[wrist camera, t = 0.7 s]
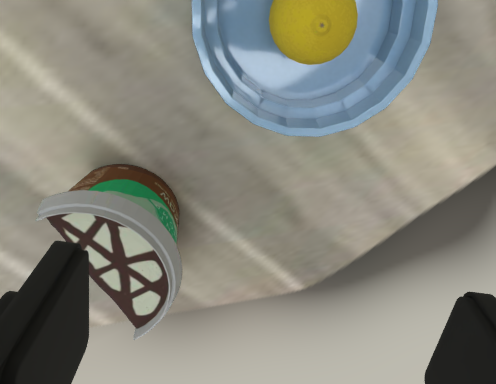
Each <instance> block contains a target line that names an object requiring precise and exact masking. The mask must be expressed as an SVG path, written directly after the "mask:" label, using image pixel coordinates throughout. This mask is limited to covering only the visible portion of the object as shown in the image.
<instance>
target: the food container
mask: <svg viewBox="0 0 496 384" xmlns="http://www.w3.org/2000/svg"><path fill="white" fill-rule="evenodd" d="M37 213H38V214H39V216H38V217H37V219H36V221H38V220H41V219H43V218H47V219H48V220H49V222H50V223H51V225H52V226H53V227H55V228H56V230H57V231H58V232H59V233H60V234H61V235H62V237H63V238H64V239H65V240H66V242H72V243H79V244H81V247H82V250H87V251H88V253H89V275H90V276H91V278H92V279H93V280H94V281H95V282H96V283H97V284H98V285H99V287H100V288H101V289H102V290H104V291H105V292H106V293H107V294H108V295H109V296H110V297H111V298H112V299H113V300H114V301H115V303H116V304H117V305H118V306H119V308H120V309H121V310H122V311H123V312H124V314H125V315H126V316H127V317H128V319H129V320H130V321H131V322H132V323H133V325H134V326H135V327H136V329H135V334H134V340H135V339H137V338H139V337H141V336H142V335H144V334H145V333H147V332H148V331H150V330H151V329H152V328H153V327H154V326H155V325H156V324H157V323H158V322H159V321H160V320H161V319H162V318H163V317H164V316H165V314H166V313H167V311H168V310H169V308H170V306H171V305H172V303H173V301H174V299H175V298H176V295H177V293H178V291H179V288H180V284H181V280H182V263H181V257H180V253H179V251H178V248H177V245H176V244H177V234H178V225H179V207H178V204H177V200H176V197H175V195H174V194H173V192H172V190H171V189H170V188H169V186H168V185H167V184H166V183H165V182H164V181H163V180H162V179H161V178H159V177H158V176H157V175H155V174H154V173H152V172H150V171H148V170H146V169H143V168H140V167H137V166H133V165H127V164H114V165H107V166H103V167H100V168H98V169H95V170H93V171H91V172H90V173H89V174H88V175H87V176H85V177H84V178H83V179H82V180H81V181H79V182H78V183H77V184H76V185H75V186H74V187H72V188H71V189H70V190H69V191H67V192H63V193H59V194H55V195H52V196H50V197H47V198H45V199H43V200H42V202H41V205H40V207H39V209H38V211H37Z"/></svg>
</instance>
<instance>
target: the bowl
mask: <svg viewBox="0 0 496 384" xmlns="http://www.w3.org/2000/svg"><path fill="white" fill-rule="evenodd" d="M272 2H273V0H192V35H193V40H194V43H195V46H196V49H197V52H198V55H199V58H200V61H201V64H202V67H203V70H204V73H205V75H206V76H207V78H208V79H209V80H210V82H211V83H212V85H213V86H214V87H215V89H216V90H217V92H218V93H219V94H220V96H221V97H222V99H223V100H224V101H225V103H226V104H227V105H229V106H230V107H231V108H233V109H234V110H235V111H237V112H238V113H239V114H241V115H242V116H243V117H245V118H246V119H247V120H249V121H250V122H251V123H253V124H255V125H257V126H260V127H263V128H266V129H269V130H272V131H274V132H277V133H280V134H283V135H287V136H316V137H320V136H325V135H328V134H332V133H336V132H339V131H343V130H347V129H350V128H354V127H356V126H357V125H359V124H361V123H362V122H364V121H366V120H367V119H369V118H371V117H372V116H374V115H375V114H377V113H379V112H380V111H382V110H384V109H385V107H387V106H388V105H389V104H390V103H391V102H392V101H393V100H394V99H395V97H396V96H397V95H398V94H399V93H400V92H401V91H402V90H403V89H404V88H405V87H406V86H407V84H408V83H409V82H410V81H411V79H413V77H414V75H415V73H416V71H417V69H418V67H419V65H420V63H421V61H422V59H423V57H424V55H425V53H426V51H427V49H428V47H429V45H430V42H431V37H432V32H433V27H434V22H435V17H436V12H437V7H438V4H437V3H438V0H355V2H356V6H357V13H358V19H357V28H356V31H355V34H354V37H353V39H352V40H351V42H350V44H349V45H348V47H347V48H346V49H345V50H344V51H343V52H342V53H341V54H340V55H339V56H337V57H336V58H334V59H332V60H331V61H328V62H325V63H322V64H316V65H307V64H301V63H298V62H296V61H293V60H291V59H289V58H288V57H287V56H286V55H284V54H283V53H282V52H281V51H280V50H279V48H278V47H277V45H276V44H275V42H274V40H273V38H272V35H271V32H270V25H269V15H270V8H271V5H272Z"/></svg>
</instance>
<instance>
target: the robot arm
mask: <svg viewBox="0 0 496 384" xmlns="http://www.w3.org/2000/svg"><path fill="white" fill-rule="evenodd" d="M88 338H89V253H88V251H87V250H82V247H81V244H79V243H72V242H63V241H55V242H54V243H53V244H52V245H51V247H50V248H49V250H48V251H47V252H46V254H45V255H44V257H43V258H42V259H41V261H40V262H39V263H38V265H37V266H36V268H35V269H34V270H33V272H32V273H31V275H30V276H29V277H28V279H27V280H26V281H25V283H24V284H23V286H22V287H21V288H20V290H19V291H18V292H14V291H9V292H7V293H5V294H4V295H3V296H2V297H1V299H0V384H71V383H72V380H73V378H74V376H75V373H76V371H77V369H78V366H79V364H80V362H81V359H82V357H83V355H84V353H85V350H86V347H87V343H88ZM425 384H496V298H495V297H494V296H493V295H490V294H484V293H475V292H467V293H466V294H464V296H463V297H459V298H458V299H457V301H456V303H455V305H454V308H453V310H452V312H451V315H450V317H449V319H448V321H447V323H446V326H445V328H444V330H443V333H442V335H441V337H440V339H439V342H438V344H437V347H436V349H435V351H434V353H433V356H432V358H431V360H430V363H429V365H428V367H427V370H426V372H425Z"/></svg>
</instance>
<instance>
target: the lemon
mask: <svg viewBox="0 0 496 384" xmlns="http://www.w3.org/2000/svg"><path fill="white" fill-rule="evenodd" d="M357 19H358V13H357V6H356V2H355V0H273V2H272V5H271V8H270V15H269V25H270V32H271V35H272V38H273V40H274V42H275V44H276V45H277V47H278V48H279V50H280V51H281V52H282V53H283V54H284V55H286V56H287V57H288V58H289V59H291V60H293V61H296V62H298V63H301V64H307V65H316V64H322V63H325V62H328V61H331V60H332V59H334V58H336V57H337V56H339V55H340V54H341V53H342V52H343V51H344V50H345V49H346V48H347V47H348V45H349V44H350V42H351V40H352V39H353V37H354V34H355V31H356V28H357Z"/></svg>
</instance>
